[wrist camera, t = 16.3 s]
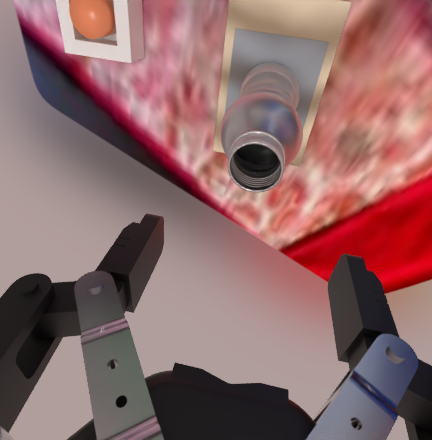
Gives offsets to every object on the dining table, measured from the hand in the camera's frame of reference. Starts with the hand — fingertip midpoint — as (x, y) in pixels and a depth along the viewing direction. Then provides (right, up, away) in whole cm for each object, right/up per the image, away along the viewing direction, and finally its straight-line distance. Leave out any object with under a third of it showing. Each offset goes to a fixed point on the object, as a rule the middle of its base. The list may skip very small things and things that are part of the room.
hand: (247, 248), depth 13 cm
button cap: (-14, +25, +20) cm, 35 cm away
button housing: (-14, +25, +21) cm, 36 cm away
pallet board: (+5, +18, +23) cm, 29 cm away
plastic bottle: (+5, +17, +21) cm, 28 cm away
